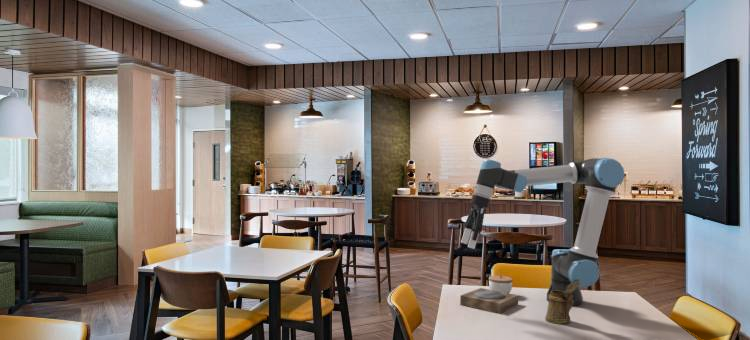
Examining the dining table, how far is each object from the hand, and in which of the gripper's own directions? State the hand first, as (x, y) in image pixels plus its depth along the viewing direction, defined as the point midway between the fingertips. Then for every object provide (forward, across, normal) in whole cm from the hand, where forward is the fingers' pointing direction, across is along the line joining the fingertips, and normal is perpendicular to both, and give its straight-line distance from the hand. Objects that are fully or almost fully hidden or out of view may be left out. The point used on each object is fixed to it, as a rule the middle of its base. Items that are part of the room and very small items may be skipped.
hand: (467, 245), depth 210 cm
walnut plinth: (+22, -8, +18) cm, 29 cm away
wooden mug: (+17, +16, +40) cm, 46 cm away
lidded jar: (+19, -24, +27) cm, 41 cm away
